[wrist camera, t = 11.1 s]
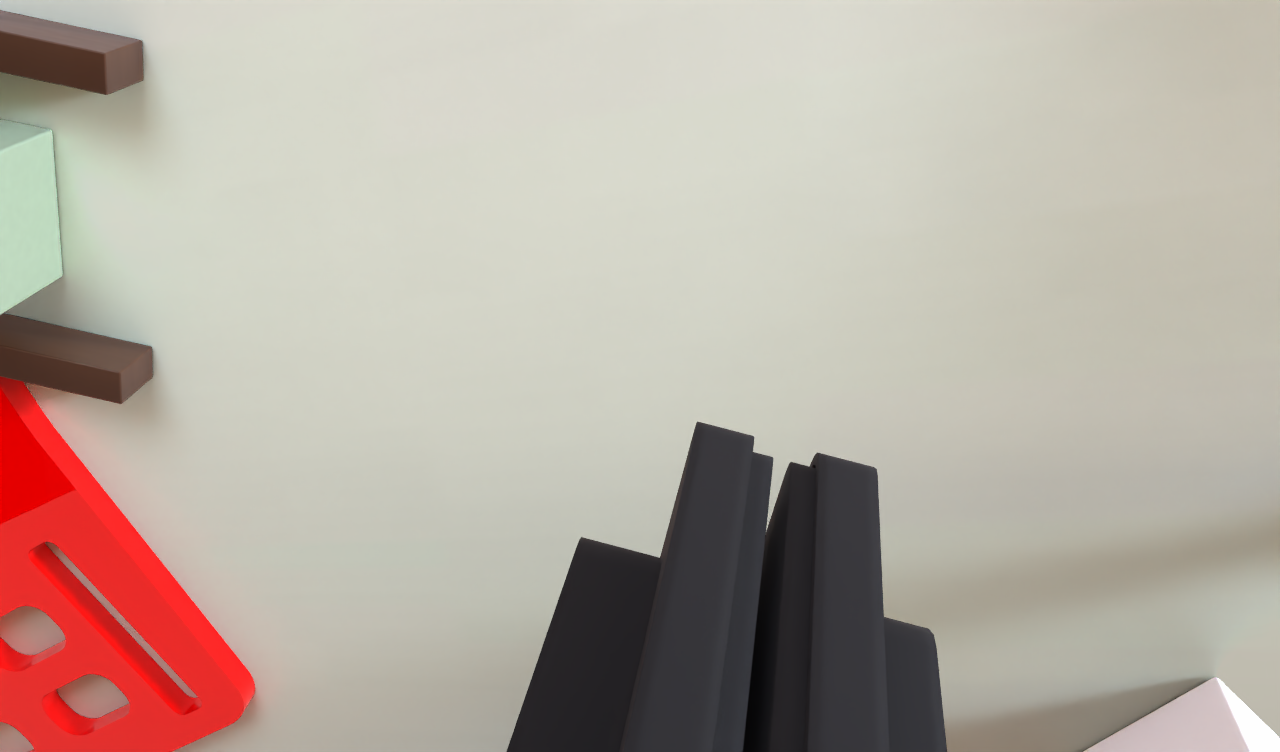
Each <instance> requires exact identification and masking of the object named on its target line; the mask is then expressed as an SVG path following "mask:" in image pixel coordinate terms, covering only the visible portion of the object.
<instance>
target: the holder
mask: <svg viewBox="0 0 1280 752" xmlns="http://www.w3.org/2000/svg"><path fill="white" fill-rule="evenodd" d="M0 72H2V73H7V74H12V75H16V76H21V77H25V78H30V79H35V80H39V81H44V82H49V83H53V84H58V85H63V86H67V87H72V88H77V89H81V90H86V91H91V92H95V93H100V94H105V95H108V94H110V93H113V92H115V91H118V90H120V89H123V88H125V87H128V86H130V85H133V84H135V83H137V82H140V81H142V80H143V50H142V41H141V40H138V39H133V38H128V37H123V36H119V35H114V34H109V33H105V32H100V31H95V30H91V29H86V28H81V27H76V26H72V25H67V24H62V23H58V22H53V21H48V20H43V19H39V18H34V17H29V16H25V15H20V14H15V13H11V12H6V11H1V10H0ZM0 376H1V377H5V378H9V379H14V380H18V381H23V382H27V383H31V384H36V385H40V386H45V387H49V388H53V389H58V390H62V391H67V392H71V393H75V394H80V395H84V396H89V397H93V398H97V399H102V400H106V401H111V402H115V403H119V404H122V403H123V402H124V401H125V400H127V399H128V398H129V397H130V396H131V395H132V394H134V393H135V392H136V391H137V390H138V389H139V388H141V387H142V386H143V385H144V384H145V383H146V382H148V381H149V380H150V379H151V378H152V377H153V367H152V347H150V346H146V345H142V344H137V343H133V342H128V341H124V340H119V339H115V338H110V337H106V336H102V335H97V334H93V333H88V332H84V331H79V330H75V329H70V328H66V327H62V326H57V325H53V324H48V323H44V322H39V321H35V320H30V319H26V318H22V317H17V316H13V315H8V314H4V313H3V314H1V315H0Z"/></svg>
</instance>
